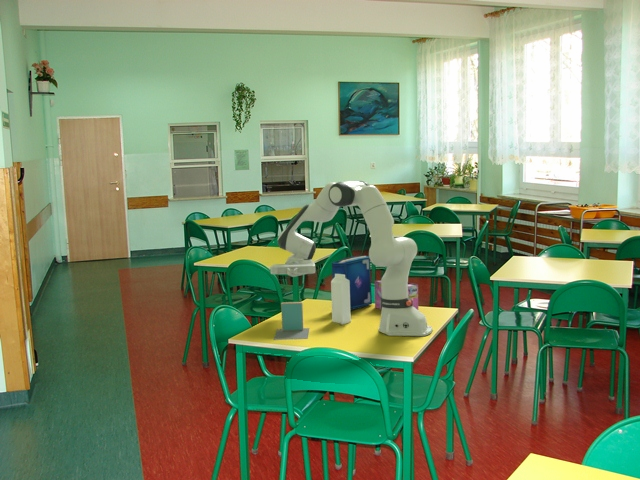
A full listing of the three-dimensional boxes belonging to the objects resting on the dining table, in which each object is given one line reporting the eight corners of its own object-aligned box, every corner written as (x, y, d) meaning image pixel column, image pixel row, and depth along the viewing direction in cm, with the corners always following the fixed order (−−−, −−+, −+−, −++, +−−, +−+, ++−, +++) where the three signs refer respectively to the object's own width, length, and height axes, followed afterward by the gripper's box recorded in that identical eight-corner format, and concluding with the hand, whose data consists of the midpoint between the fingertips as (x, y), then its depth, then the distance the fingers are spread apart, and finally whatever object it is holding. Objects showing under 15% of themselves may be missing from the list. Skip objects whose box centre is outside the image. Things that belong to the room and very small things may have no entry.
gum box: (372, 307, 319) (371, 280, 318) (384, 305, 324) (383, 278, 322) (407, 315, 300) (406, 286, 299) (419, 312, 305) (418, 284, 303)
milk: (342, 324, 287) (340, 275, 284) (332, 323, 291) (330, 274, 288) (351, 321, 291) (349, 273, 289) (340, 320, 295) (338, 272, 293)
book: (341, 313, 309) (340, 261, 306) (331, 311, 314) (329, 260, 312) (372, 305, 324) (371, 255, 321) (362, 303, 329) (361, 254, 326)
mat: (277, 330, 281) (277, 329, 281) (309, 329, 280) (309, 328, 280) (273, 341, 264) (273, 339, 264) (307, 340, 263) (307, 338, 263)
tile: (282, 329, 279) (281, 302, 278) (303, 329, 279) (302, 301, 277) (282, 331, 277) (281, 303, 275) (303, 330, 277) (302, 302, 275)
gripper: (271, 260, 298) (268, 265, 284) (315, 259, 297) (314, 264, 284) (271, 274, 299) (268, 279, 285) (316, 273, 298) (315, 278, 284)
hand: (292, 271), depth 284 cm, fingers closed
